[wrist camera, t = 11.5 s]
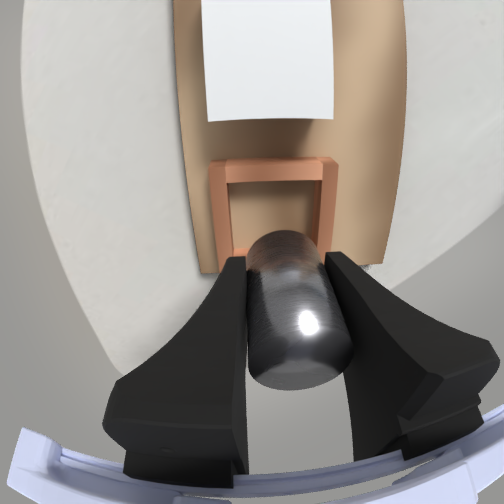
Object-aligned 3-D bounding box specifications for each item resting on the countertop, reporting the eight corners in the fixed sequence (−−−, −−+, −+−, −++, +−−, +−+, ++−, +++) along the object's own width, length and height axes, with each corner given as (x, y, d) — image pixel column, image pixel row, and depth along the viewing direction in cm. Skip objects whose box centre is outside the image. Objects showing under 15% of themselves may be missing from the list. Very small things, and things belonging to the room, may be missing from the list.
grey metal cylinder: (315, 288, 13) (343, 384, 8) (247, 292, 13) (250, 393, 8) (321, 228, 11) (365, 322, 7) (243, 231, 11) (245, 333, 7)
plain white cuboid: (311, -11, 9) (327, -31, 7) (315, 112, 13) (333, 119, 10) (208, -11, 9) (200, -31, 7) (215, 114, 13) (208, 121, 10)
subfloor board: (389, -35, 8) (409, -46, 6) (376, 255, 19) (390, 276, 17) (177, -47, 8) (167, -65, 6) (202, 264, 19) (198, 288, 17)
